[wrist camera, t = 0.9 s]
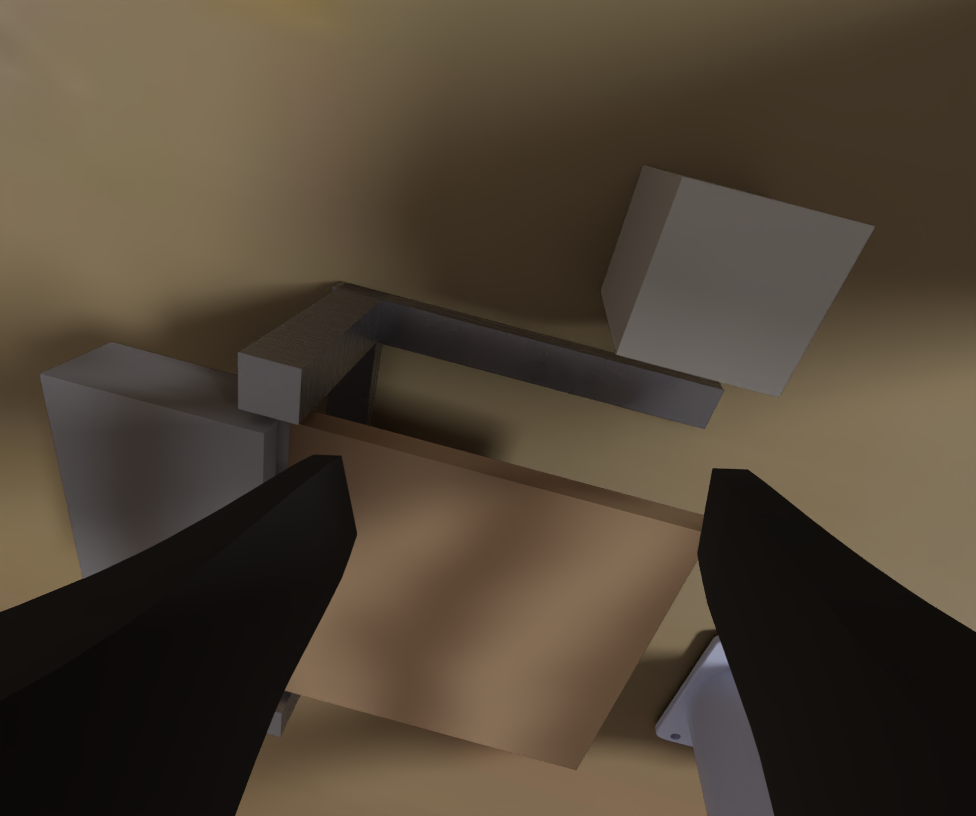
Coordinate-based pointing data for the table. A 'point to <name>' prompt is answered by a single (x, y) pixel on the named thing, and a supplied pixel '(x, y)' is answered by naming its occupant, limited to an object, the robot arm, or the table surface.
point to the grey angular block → (444, 335)
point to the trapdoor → (392, 551)
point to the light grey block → (723, 279)
